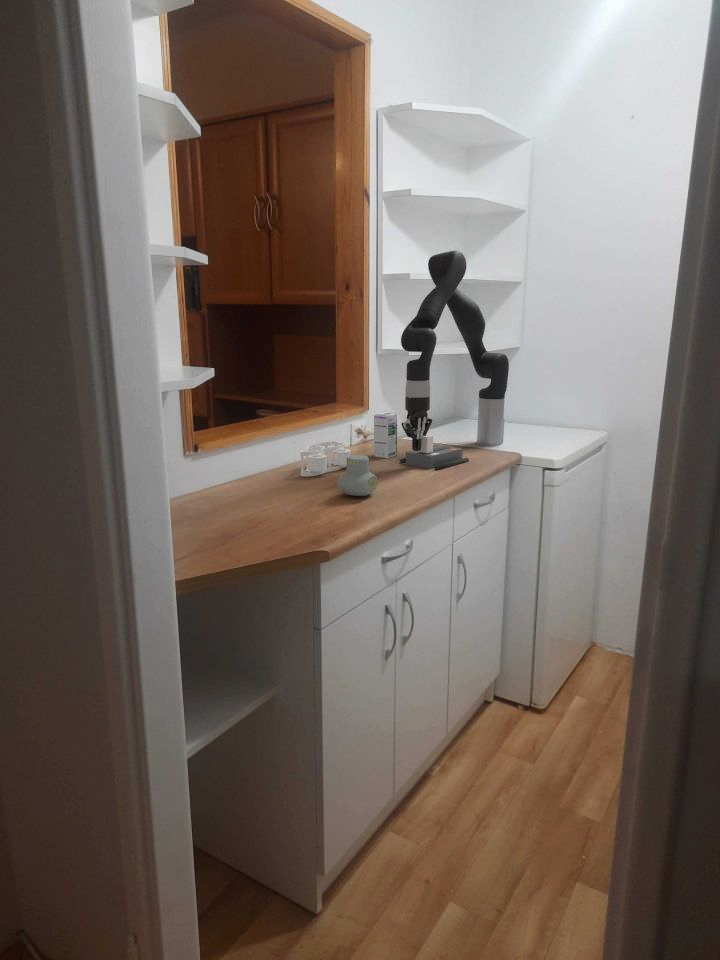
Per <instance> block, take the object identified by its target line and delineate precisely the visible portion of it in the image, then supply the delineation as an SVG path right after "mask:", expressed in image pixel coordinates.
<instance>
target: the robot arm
mask: <svg viewBox="0 0 720 960" xmlns="http://www.w3.org/2000/svg"><path fill="white" fill-rule="evenodd" d="M427 268H428V273H429V276H430V278H431V280H432V283H434V286H435V287H434V288H432V290H430V292H429V293H428V294H427V295H426V296H425V298H424V299H423V300H422V302H421V303H420V306H419V308H418V311H417V313H416V315H415V317H414V318H413V319H412V320H410V322H409V323H408V324H407V326H406V327H405V328H404V330H403V332H402V333H401V336H400V344H401V347H402V349H403V350H404V351H405V352H410V353H421V354H420V356H419V358H416V359H413V360H412V359H411V360H409V361H408V362H407V363H406V377H405V378H406V381H405V392H404V393H405V395H404V396H405V397H404V400H405V401H404V402H405V403H404V404H405V406H404V409H405V411H407V413H406V420H405V421H404V422H401V423H400V425H401V427H402V430H403V431H404V433H405V435H406V436H407V437H408V438H411V440H412V441H411V443H412V445H411V449H412V451H420V450H421V440H422V438H423V436H426V435H427V434H428V432H429V429H430V427H431V425H432V423H433V419H432V418H429V417H428V416H429V415H428V411H430V409H431V407H430V405H431V383H430V377H431V376H430V375H431V374H430V373H431V372H430V371H431V370H430V368H431V364H432V359H433V355H434V352H435V349H436V347H437V335H436V332H435V331H434V330H435V329H436V328H437V326H438V324H439V321H440V319H441V317H442V315H443V312H444V310H445V307H448V310H449V311H450V313H451V315H452V318H453V321H454V322H455V325H456V326H457V328H458V331H459V333H460V335H461V337H462V339H463V341H464V343H465V346H466V349H467V350H468V353H469V356H470V359H471V361H472V365H473V368H474V371H475V372H476V374H477V376H478V377H480V378H481V379H488V380H489V379H490V383H489V385H488V386H487V387H483V388H481V389H479V391H478V410H477V432H476V444H478V445H481V446H487V447H488V446H492V447H494V446H495V447H497V446H501V445H503V443H504V435H505V433H504V432H505V417H504V415H505V397H506V392H507V388H508V379H509V371H510V363H509V361H510V360H509V358H508V356H507V355H506V354H505V353H503V352H501V353H500V352H488V351H487V349H486V347H485V345H484V342H483V338H484V334H485V329H486V320H485V318H484V315H483V313H482V311H481V308H480V306H479V305H478V304H477V303H476V302H475V301H474V300H473V299H472V298H471V297H469V296H468V295H467V294H465V293H463V292H462V291H461V290H460V289H459V288H458V286H459V285H460V283H462V280H463V279H464V276H465V274H466V272H467V259H466V257H465V254H463V252H462V251H460V250H450V251H445V252H440V253H436V254H434V255H432V256H430V257H429V258H428V263H427ZM446 305H447V306H446Z"/></svg>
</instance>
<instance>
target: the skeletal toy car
mask: <svg viewBox="0 0 720 960" xmlns="http://www.w3.org/2000/svg"><path fill="white" fill-rule="evenodd" d="M328 446H332V447H328ZM322 447H324V448H322ZM345 447H346V443H344V442H340V441H337V440H331V441H322V442H316V443H312V444H310V445H309V444H308V445H307V446H306V447H305V449H302V450H300V451H299V456H300V477H314V476H320V475H323V474H325V473H330V472H331V473H332V472H334V471H339V470H341V469H343V468H345V467H346V466H347V457H348V456H352V455H351V454H352V453H351V451H352V450H351V449H347V448H345ZM305 457H306V460H305ZM305 461H306V469H305V463H304V462H305ZM332 465H335V466H332Z"/></svg>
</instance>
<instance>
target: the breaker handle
mask: <svg viewBox="0 0 720 960" xmlns="http://www.w3.org/2000/svg"><path fill="white" fill-rule="evenodd" d="M433 446H434V436H433V435H427V434H426V436H423V438H422V440H421V450H420V451H417V452H423V453H430V452H433Z"/></svg>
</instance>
